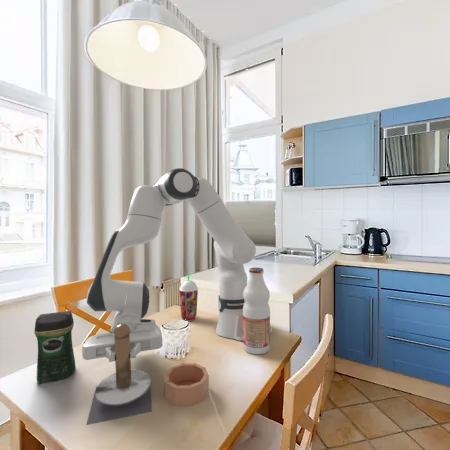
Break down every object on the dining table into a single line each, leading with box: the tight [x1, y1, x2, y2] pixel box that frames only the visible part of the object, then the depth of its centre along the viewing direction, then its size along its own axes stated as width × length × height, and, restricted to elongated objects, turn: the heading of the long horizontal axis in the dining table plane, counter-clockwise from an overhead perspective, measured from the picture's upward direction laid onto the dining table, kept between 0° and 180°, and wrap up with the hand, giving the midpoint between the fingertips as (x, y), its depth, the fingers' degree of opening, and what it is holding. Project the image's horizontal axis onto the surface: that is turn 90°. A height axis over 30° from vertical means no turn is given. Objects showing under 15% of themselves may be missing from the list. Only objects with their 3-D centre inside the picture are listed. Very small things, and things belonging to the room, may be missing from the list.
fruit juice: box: [242, 267, 271, 355], centre depth 96 cm, size 9×9×28 cm
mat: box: [86, 386, 153, 426], centre depth 70 cm, size 14×14×1 cm
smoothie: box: [178, 273, 199, 321], centre depth 124 cm, size 8×8×20 cm
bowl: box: [163, 362, 210, 407], centre depth 73 cm, size 11×12×5 cm
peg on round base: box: [95, 324, 152, 406], centre depth 70 cm, size 13×13×16 cm
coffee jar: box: [33, 310, 76, 384], centre depth 81 cm, size 10×8×19 cm
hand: (122, 357), depth 69 cm, fingers closed on peg on round base, 4 cm apart
